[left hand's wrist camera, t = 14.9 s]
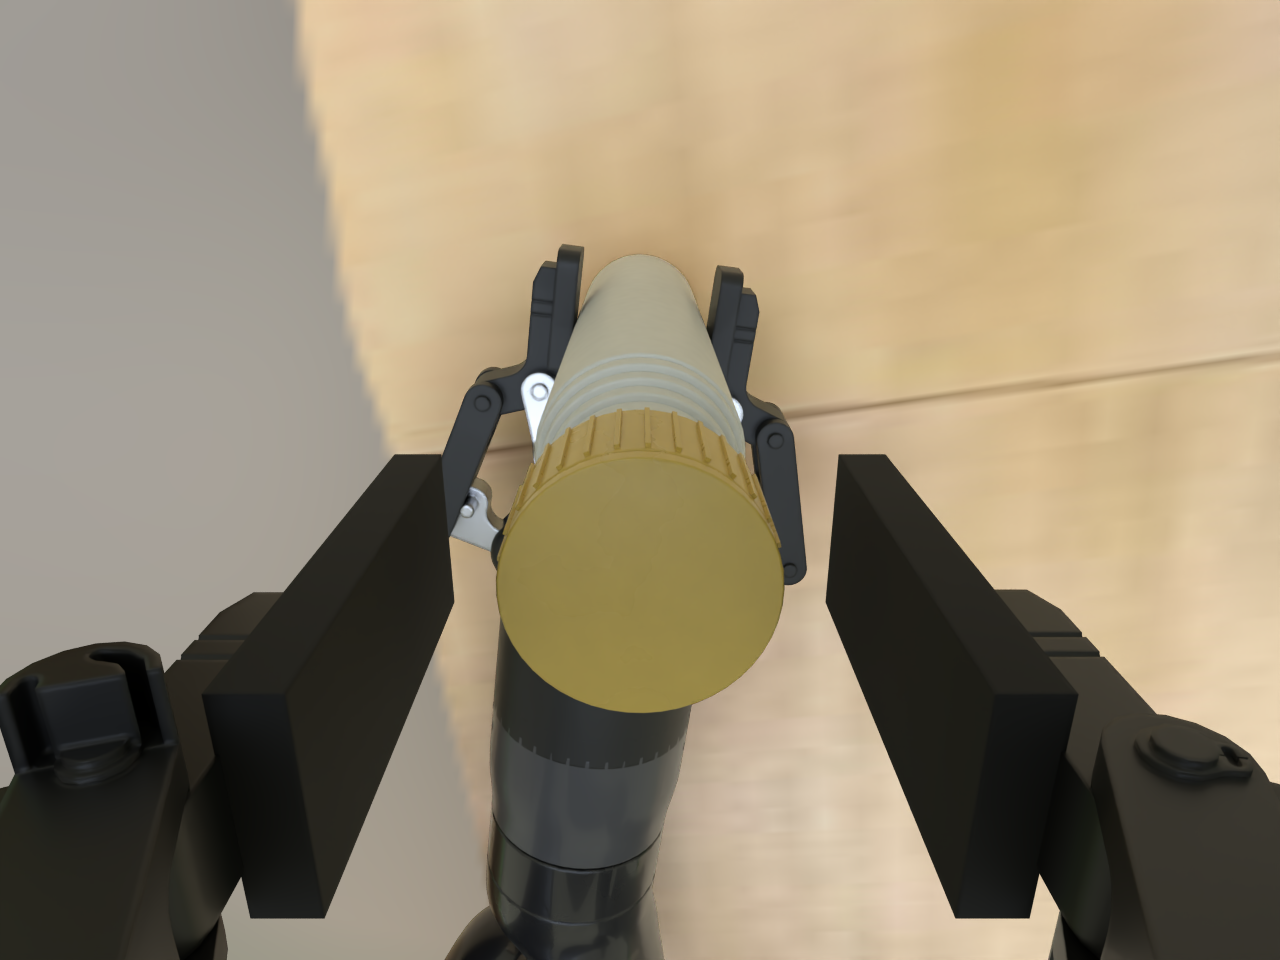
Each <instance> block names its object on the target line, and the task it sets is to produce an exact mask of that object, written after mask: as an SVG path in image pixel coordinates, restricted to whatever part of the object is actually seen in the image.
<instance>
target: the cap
mask: <svg viewBox="0 0 1280 960" xmlns="http://www.w3.org/2000/svg"><path fill="white" fill-rule="evenodd" d="M503 535H505V536H504V539H503V542H502V544H501V547H500V550H499V553H498V556H497V561H498V568H497V576H496V596H497V602H498V607H499V613H500V616H501V619H502V622H503V625H504V628H505V630H506V632H507V634H508V636H509V638H510V640H511V642H512V644H513V646H514V647H515V649H516V650H517V652H518V653H519V655H520V656H521V657H522V659H523V660H524V661H525V662H526V663H527V664H528V665H529V667H530V668H531V669H532V670H533V671H534V672H535V673H536V674H538V675H539V676H540V677H541V678H542V679H543V680H544V681H546V682H547V683H548V684H550V685H551V686H553V687H554V688H556V689H557V690H559V691H560V692H562V693H564V694H566V695H568V696H570V697H572V698H574V699H576V700H578V701H581V702H584V703H586V704H589V705H591V706H595V707H599V708H603V709H607V710H613V711H620V712H628V713H650V712H662V711H668V710H673V709H678V708H682V707H685V706H688V705H691V704H695V703H697V702H699V701H702V700H704V699H706V698H709V697H711V696H713V695H715V694H716V693H718V692H720V691H721V690H723V689H725V688H727V687H728V686H729V685H730V684H732V683H733V682H734V681H736V680H737V679H738V678H740V677H741V676H742V675H743V674H744V673H745V672H746V671H747V670H748V669H749V668H750V667H751V666H752V665H753V664H754V663H755V661H756V660H757V659H758V658H759V656H760V655H761V654H762V653H763V651H764V649H765V648H766V646H767V644H768V643H769V641H770V639H771V638H772V635H773V633H774V631H775V628H776V626H777V624H778V621H779V617H780V613H781V609H782V606H783V597H784V568H783V565H782V560H781V555H780V552H779V549H778V548H781V543H780V540H779V537H778V534H777V531H776V529H775V526H774V523H773V520H772V517H771V515H770V512H769V509H768V506H767V504H766V501H765V498H764V495H763V492H762V490H761V487H760V484H759V481H758V478H757V476H756V474H753V475H751V473H750V471H749V469H748V467H747V464H746V461H745V458H744V455H743V454H742V453H741V452H740V453H739V454H738V453H737V452H736V451H735V450H734V449H733V448H732V447H731V446H730V445H729V444H728V443H727V441H726V438H725V436H723V435H722V434H721V435H720V436H719V435H717V434H716V433H715V432H713V431H711V430H710V429H708V428H706V427H705V426H704V425H703V422H701V421H699V420H698V422H695V421H693V420H690V419H688V418H686V417H682V416H679V415H677V412H675V411H672V413H668V412H662V411H656V410H650V408H649V407H645V408H644V410H626V411H622V408H621V409H617V411H616V412H613V413H609V414H604V415H601V416H598V417H595V415H593V416H590V419H589V420H587V421H585V422H583V423H581V424H579V425H577V426H575V427H573V428H572V429H571V427H568V428H567V429H566V430H565V434H563V435H562V436H560V437H559V438H558V439H557V440H556V441H555V442H553V443H552V444H549V443H548V444H547V445H546V446H545V448H544V452H543V454H542V455H541V456H540V457H539V459H538V460H537V461H536V463H535V464H533V463H531V464H530V466H529V468H528V471H527V474H526V477H525V480H524V483H523V486H521V485H520V486H519V489H518V492H517V495H516V497H515V500H514V503H513V506H512V509H511V511H510V514H509V517H508V520H507V523H506V525H505V528H504V531H503Z"/></svg>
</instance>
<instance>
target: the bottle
mask: <svg viewBox="0 0 1280 960" xmlns="http://www.w3.org/2000/svg"><path fill="white" fill-rule="evenodd" d="M645 407H649V408H650V410H656V411H662V412H668V413H672V411H675V412H677V415H679V416H682V417H686V418H688V419H690V420H693V421H695V422H698V420H699V421H701V422H703V425H704V426H705V427H706V428H708V429H710V430H711V431H713V432H715V433H716V434H717V435H719V436H720V435H721V434H722V435H723V436H725V438H726V441H727V443H728V444H729V445H730V446H731V447H732V448H733V449H734V450H735V451H736V452H737V453H738V454H739V453H740V452H741V453H742V454H743V455H744V458H745V439H744V433H743V428H742V425H741V422H740V419H739V416H738V413H737V410H736V408H735V405H734V402H733V400H732V397H731V394H730V392H729V389H728V386H727V383H726V381H725V378H724V375H723V373H722V370H721V367H720V365H719V362H718V359H717V357H716V354H715V351H714V349H713V346H712V343H711V340H710V338H709V335H708V332H707V330H706V327H705V324H704V322H703V319H702V316H701V314H700V311H699V308H698V306H697V303H696V300H695V297H694V295H693V292H692V290H691V287H690V285H689V283H688V281H687V280H686V278H685V277H684V276H683V274H682V273H681V272H680V271H679V270H678V269H677V268H676V267H675V266H673V265H672V264H670V263H669V262H667V261H665V260H663V259H661V258H658V257H655V256H651V255H643V254H637V255H629V256H625V257H622V258H619V259H617V260H615V261H613V262H611V263H610V264H608V265H607V266H605V267H604V268H603V269H602V270H601V271H600V272H599V273H598V274H597V276H596V277H595V278H594V280H593V281H592V283H591V285H590V287H589V289H588V292H587V295H586V297H585V300H584V303H583V306H582V308H581V311H580V314H579V316H578V319H577V322H576V324H575V327H574V330H573V333H572V335H571V338H570V341H569V343H568V346H567V349H566V351H565V354H564V357H563V360H562V362H561V365H560V368H559V370H558V373H557V376H556V378H555V381H554V384H553V387H552V389H551V392H550V395H549V397H548V400H547V403H546V406H545V408H544V411H543V414H542V416H541V419H540V423H539V426H538V429H537V434H536V440H535V463H536V461H537V460H538V459H539V457H540V456H541V455H542V454H543V452H544V448H545V446H546V445H547V444H548V443H549V444H552V443H553V442H555V441H556V440H557V439H558V438H559V437H560V436H562V435H563V434H565V430H566V429H567V428H568V427H571V429H572V428H573V427H575V426H577V425H579V424H581V423H583V422H585V421H587V420H589V419H590V416H593V415H595V417H598V416H601V415H604V414H609V413H613V412H616V411H617V409H621V408H622V411H626V410H644V408H645Z"/></svg>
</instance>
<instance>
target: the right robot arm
mask: <svg viewBox="0 0 1280 960" xmlns="http://www.w3.org/2000/svg"><path fill="white" fill-rule="evenodd" d="M583 258H584V247H581V246H573V245H566V244H562V246H561V247H560V248H559V251H558V257H557V262H551V261H545V262H544V263H543V265H542V266H541V267H540V269H539V271H538V273H537V275H536V277H535V279H534V281H533V290H532V302H531V315H530V327H529V339H528V351H527V359H526V360H525V361H524V362H522V363H521V364H519V365H516V366H511V367H507V368H502V369H501V368H498V367H490V368H487V369H485V370H483V371H482V372H481V373H480V375H479V376H478V377H477V379H476V382H475V384H474V385H472V386H471V387H470V389H469V390H468V391H467V393H466V395H465V397H464V400H463V402H462V405H461V408H460V410H459V413H458V415H457V418H456V421H455V423H454V426H453V429H452V431H451V434H450V437H449V439H448V442H447V444H446V447H445V450H444V452H443V455H442V468H443V480H444V491H445V502H446V513H447V525H448V536H449V537H450V536H452V537H454V538H457V539H459V540H462V541H465V542H467V543H470V544H472V545H475V546H477V547H480V548H483V549H485V550H488V551H490V552H491V558H492V562H493V564H494V566H495V568H496V570H497V568H498V561H497V556H498V553H499V550H500V547H501V544H502V542H503V539H504V536H505V535H503V531H504V528H505V525H506V523H507V520H508V517H509V514H510V513H509V514H508V515H507V516H506V517H505V518H504V519H501V518H499V517H497V516H496V515H495V513H494V512H493V510H492V508H491V499H492V490H491V488H490V486H489V484H488V483H487V482H485V481H484V480H482V479H480V478H477V475H478V472H479V470H480V467H481V464H482V462H483V459H484V457H485V454H486V452H487V449H488V447H489V444H490V442H491V439H492V437H493V434H494V432H495V429H496V427H497V424H498V422H499V419H500V417H501V415H503V414H507V413H512V412H516V411H521V410H525V413H526V417H527V421H528V425H529V430H530V434H531V438H532V444H533V458H534V464H535V440H536V434H537V429H538V426H539V423H540V419H541V416H542V414H543V411H544V408H545V406H546V403H547V400H548V397H549V395H550V392H551V389H552V387H553V384H554V381H555V378H556V376H557V373H558V370H559V368H560V365H561V362H562V360H563V357H564V354H565V351H566V349H567V346H568V343H569V341H570V338H571V335H572V333H573V330H574V327H575V324H576V322H577V317H578V307H579V297H580V287H581V277H582V268H583ZM743 279H744V276H743V273H742V271H741V270H740V269H739V268H734V267H727V266H719V265H718V266H717V268H716V272H715V277H714V284H713V290H712V296H711V302H710V309H709V315H708V321H707V328H706V330H707V332H708V335H709V338H710V340H711V343H712V346H713V349H714V351H715V354H716V357H717V359H718V362H719V365H720V367H721V370H722V373H723V375H724V378H725V381H726V383H727V386H728V389H729V392H730V394H731V397H732V400H733V402H734V405H735V408H736V410H737V413H738V416H739V419H740V422H741V425H742V428H743V433H744V439H745V442H747V443H749V444H751V448H752V456H753V465H754V473H755V474H756V476H757V478H758V481H759V484H760V487H761V490H762V492H763V495H764V498H765V501H766V504H767V506H768V509H769V512H770V515H771V517H772V520H773V523H774V526H775V529H776V531H777V534H778V537H779V540H780V543H781V548H778V549H779V552H780V555H781V560H782V565H783V568H784V585H793V584H796V583H798V582H800V581H801V580H802V579H803V578H804V576H805V574H806V571H807V566H806V555H805V545H804V535H803V525H802V515H801V505H800V495H799V484H798V474H797V464H796V454H795V444H794V436H793V433H792V431H791V429H790V427H789V425H788V423H787V421H786V419H785V418H784V416H783V414H782V412H781V410H780V409H779V408H778V407H777V406H776V405H775V404H773V403H769V402H763V401H761V400H759V399H757V398H755V397H753V396H752V395H750V394H749V393H748V392H747V391H746V383H747V378H748V372H749V367H750V361H751V355H752V350H753V343H754V339H755V333H756V328H757V322H758V317H759V308H758V303H757V298H756V295H755V294H754V292H753V291H752V290H751V289H750V288H743ZM691 705H692V704H691ZM691 705H688V706H685V707H682V708H678V709H673V710H668V711H662V712H650V713H628V712H620V711H613V710H607V709H603V708H599V707H595V706H591V705H589V704H586V703H584V702H581V701H578V700H576V699H574V698H572V697H570V696H568V695H566V694H564V693H562V692H560V691H559V690H557V689H556V688H554V687H553V686H551V685H550V684H548V683H547V682H546V681H544V680H543V679H542V678H541V677H540V676H539V675H538V674H536V673H535V672H534V671H533V670H532V669H531V668H530V667H529V665H528V664H527V663H526V662H525V661H524V660H523V659H522V657H521V656H520V655H519V653H518V652H517V650H516V649H515V647H514V646H513V644H512V642H511V640H510V638H509V636H508V634H507V632H506V630H505V628H504V625H503V622H502V619H501V617H500V630H499V642H498V654H497V667H496V679H495V691H494V702H493V717H492V729H491V741H490V773H491V783H492V807H491V819H490V830H489V842H488V855H487V874H486V885H487V894H488V899H489V904H490V906H488V907H487V908H485V909H484V910H482V911H481V912H480V913H479V914H477V915H476V916H475V917H474V918H473V919H472V920H471V921H470V923H469V924H468V925H467V926H466V928H465V929H464V930H463V932H462V933H461V935H460V936H459V937H458V939H457V940H456V942H455V944H454V945H453V947H452V948H451V950H450V952H449V953H448V955H447V957H446V958H445V960H664V955H663V949H662V943H661V936H660V930H659V924H658V916H657V909H656V903H655V898H654V894H653V887H652V886H653V881H654V875H655V870H656V865H657V859H658V854H659V848H660V842H661V837H662V831H663V825H664V820H665V816H666V812H667V809H668V806H669V803H670V801H671V798H672V795H673V793H674V790H675V787H676V784H677V780H678V776H679V771H680V766H681V760H682V755H683V750H684V744H685V739H686V733H687V728H688V722H689V716H690V711H691Z"/></svg>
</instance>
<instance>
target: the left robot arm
mask: <svg viewBox="0 0 1280 960" xmlns="http://www.w3.org/2000/svg"><path fill="white" fill-rule="evenodd" d="M453 604H454V592H453V581H452V570H451V558H450V547H449V536H448V525H447V513H446V502H445V491H444V480H443V468H442V457H441V454H395V455H394V456H393V457H392V458H391V460H390V461H389V462H388V463H387V465H386V466H385V467H384V468H383V470H382V471H381V472H380V473H379V475H378V476H377V477H376V478H375V480H374V481H373V482H372V483H371V484H370V486H369V487H368V488H367V489H366V491H365V492H364V493H363V494H362V496H361V497H360V498H359V499H358V501H357V502H356V503H355V504H354V506H353V507H352V508H351V509H350V510H349V512H348V513H347V514H346V516H345V517H344V518H343V519H342V520H341V522H340V523H339V524H338V525H337V527H336V528H335V529H334V530H333V532H332V533H331V534H330V535H329V537H328V538H327V539H326V540H325V542H324V543H323V544H322V545H321V546H320V548H319V549H318V550H317V551H316V553H315V554H314V555H313V556H312V558H311V559H310V560H309V561H308V563H307V564H306V565H305V566H304V568H303V569H302V570H301V571H300V572H299V574H298V575H297V576H296V578H295V579H294V580H293V581H292V582H291V584H290V585H289V586H288V587H287V589H286V590H285V591H284V592H254V593H252V594H250V595H249V596H247V597H245V598H243V599H242V600H240V601H238V602H237V603H235V604H233V605H231V606H230V607H228V608H226V609H225V610H223V611H221V612H220V613H219V614H218V615H217V616H216V617H215V618H214V619H213V620H212V621H211V623H210V624H209V625H208V626H207V627H206V628H205V629H204V630H203V631H202V632H201V634H200V635H199V639H198V640H194V641H193V642H192V643H191V645H190V646H189V647H188V648H187V649H186V650H185V651H184V652H183V654H182V655H181V660H176V661H175V662H174V663H173V664H172V665H171V667H170V668H169V669H168V670H167V671H166V672H165V673H164V670H163V666H162V662H161V657H160V654H158V653H157V652H156V651H154V650H153V649H151V648H150V647H148V646H147V645H142V644H136V643H130V642H112V643H97V644H92V645H87V646H83V647H79V648H74V649H70V650H66V651H62V652H60V653H57V654H55V655H52V656H50V657H47V658H45V659H42V660H40V661H37V662H34V663H32V664H30V665H29V666H27V667H25V668H24V669H22V670H20V671H19V672H17V673H15V674H14V675H12V676H11V677H9V678H7V679H6V680H5V681H4V682H3V683H2V684H1V685H0V729H1V732H2V735H3V738H4V741H5V745H6V748H7V751H8V753H9V757H10V760H11V763H12V766H13V769H14V772H15V775H14V777H13V779H12V781H11V783H10V785H9V786H8V787H4V788H0V960H227V951H228V947H227V941H226V934H225V929H224V924H223V920H222V916H221V912H222V911H223V909H224V907H225V905H226V903H227V902H228V900H229V898H230V896H231V894H232V892H233V891H234V889H235V887H236V885H237V883H238V881H239V880H240V878H241V877H242V882H243V886H244V891H245V896H246V900H247V905H248V909H249V914H250V918H325V916H326V913H327V911H328V909H329V906H330V904H331V901H332V899H333V896H334V894H335V892H336V889H337V887H338V884H339V882H340V879H341V877H342V874H343V872H344V870H345V867H346V865H347V862H348V860H349V857H350V855H351V853H352V850H353V848H354V845H355V843H356V840H357V838H358V836H359V833H360V831H361V828H362V826H363V823H364V821H365V818H366V816H367V813H368V811H369V809H370V806H371V804H372V801H373V799H374V796H375V794H376V792H377V789H378V787H379V784H380V782H381V779H382V777H383V775H384V772H385V770H386V767H387V765H388V762H389V760H390V758H391V755H392V753H393V750H394V748H395V745H396V743H397V741H398V738H399V736H400V733H401V731H402V728H403V726H404V724H405V721H406V719H407V716H408V714H409V711H410V709H411V707H412V704H413V702H414V699H415V697H416V694H417V692H418V689H419V687H420V685H421V682H422V680H423V677H424V675H425V672H426V670H427V668H428V665H429V663H430V660H431V658H432V655H433V653H434V651H435V648H436V646H437V643H438V641H439V638H440V636H441V634H442V631H443V629H444V626H445V624H446V621H447V619H448V616H449V614H450V612H451V609H452V607H453ZM826 604H827V607H828V609H829V612H830V614H831V616H832V619H833V621H834V624H835V626H836V629H837V631H838V634H839V636H840V638H841V641H842V643H843V646H844V648H845V651H846V653H847V655H848V658H849V660H850V663H851V665H852V668H853V670H854V672H855V675H856V677H857V680H858V682H859V685H860V687H861V689H862V692H863V694H864V697H865V699H866V702H867V704H868V707H869V709H870V711H871V714H872V716H873V719H874V721H875V724H876V726H877V728H878V731H879V733H880V736H881V738H882V741H883V743H884V745H885V748H886V750H887V753H888V755H889V758H890V760H891V763H892V765H893V767H894V770H895V772H896V775H897V777H898V780H899V782H900V784H901V787H902V789H903V792H904V794H905V797H906V799H907V801H908V804H909V806H910V809H911V811H912V814H913V816H914V819H915V821H916V823H917V826H918V828H919V831H920V833H921V836H922V838H923V840H924V843H925V845H926V848H927V850H928V853H929V855H930V857H931V860H932V862H933V865H934V867H935V870H936V872H937V874H938V877H939V879H940V882H941V884H942V887H943V889H944V892H945V894H946V896H947V899H948V901H949V904H950V906H951V909H952V911H953V913H954V916H955V918H1030V914H1031V909H1032V905H1033V900H1034V896H1035V891H1036V887H1037V882H1038V877H1039V873H1040V875H1041V877H1042V879H1043V881H1044V883H1045V884H1046V886H1047V888H1048V890H1049V892H1050V893H1051V895H1052V897H1053V899H1054V901H1055V902H1056V904H1057V906H1058V908H1059V910H1060V912H1059V916H1058V920H1057V924H1056V929H1055V933H1054V937H1053V941H1052V946H1051V950H1050V954H1049V958H1048V960H1280V784H1276V783H1272V782H1270V781H1269V779H1268V777H1267V775H1266V773H1265V772H1264V771H1263V769H1262V768H1261V767H1260V766H1259V765H1258V763H1257V762H1256V761H1255V760H1254V758H1253V757H1252V756H1251V755H1250V754H1249V753H1248V752H1246V751H1245V750H1244V749H1242V748H1241V747H1239V746H1238V745H1237V744H1235V743H1234V742H1232V741H1231V740H1230V739H1228V738H1227V737H1225V736H1223V735H1221V734H1219V733H1216V732H1214V731H1212V730H1210V729H1208V728H1205V727H1203V726H1201V725H1199V724H1197V723H1193V722H1190V721H1186V720H1182V719H1178V718H1175V717H1171V716H1167V715H1159V714H1156V713H1155V712H1154V711H1153V710H1152V708H1151V707H1150V706H1149V705H1148V704H1147V703H1146V702H1145V701H1144V700H1143V699H1142V698H1141V696H1140V695H1139V694H1138V693H1137V692H1136V691H1135V690H1134V689H1133V688H1132V687H1131V686H1130V684H1129V683H1128V682H1127V681H1126V680H1125V679H1124V678H1123V677H1122V676H1121V675H1120V674H1119V672H1118V671H1117V670H1116V669H1115V668H1114V667H1113V666H1112V665H1111V664H1110V663H1109V662H1108V660H1107V659H1106V658H1105V657H1100V654H1099V653H1100V652H1099V651H1098V650H1097V648H1096V647H1095V646H1094V645H1093V644H1092V643H1091V642H1090V641H1089V640H1088V639H1087V638H1086V637H1082V632H1081V631H1080V630H1079V629H1078V628H1077V627H1076V626H1075V624H1074V623H1073V622H1072V621H1071V620H1070V619H1069V618H1068V617H1067V616H1066V615H1065V614H1064V612H1063V611H1062V610H1061V609H1059V608H1057V607H1056V606H1054V605H1052V604H1051V603H1049V602H1047V601H1045V600H1044V599H1042V598H1040V597H1039V596H1037V595H1035V594H1033V593H1032V592H1030V591H1028V590H994V589H993V587H992V586H991V585H990V584H989V582H988V581H987V580H986V579H985V577H984V576H983V575H982V574H981V572H980V571H979V570H978V569H977V568H976V566H975V565H974V564H973V563H972V561H971V560H970V559H969V558H968V556H967V555H966V554H965V553H964V551H963V550H962V549H961V548H960V546H959V545H958V544H957V543H956V541H955V540H954V539H953V538H952V537H951V535H950V534H949V533H948V532H947V530H946V529H945V528H944V527H943V525H942V524H941V523H940V522H939V520H938V519H937V518H936V517H935V515H934V514H933V513H932V512H931V510H930V509H929V508H928V507H927V506H926V504H925V503H924V502H923V501H922V499H921V498H920V497H919V496H918V494H917V493H916V492H915V491H914V489H913V488H912V487H911V486H910V484H909V483H908V482H907V481H906V479H905V478H904V477H903V476H902V475H901V473H900V472H899V471H898V470H897V468H896V467H895V466H894V465H893V463H892V462H891V461H890V460H889V458H888V457H887V456H886V455H885V454H839V457H838V468H837V480H836V491H835V502H834V513H833V525H832V536H831V547H830V558H829V570H828V581H827V592H826Z"/></svg>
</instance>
